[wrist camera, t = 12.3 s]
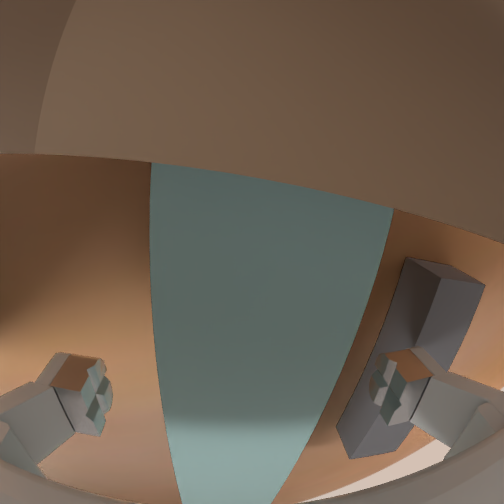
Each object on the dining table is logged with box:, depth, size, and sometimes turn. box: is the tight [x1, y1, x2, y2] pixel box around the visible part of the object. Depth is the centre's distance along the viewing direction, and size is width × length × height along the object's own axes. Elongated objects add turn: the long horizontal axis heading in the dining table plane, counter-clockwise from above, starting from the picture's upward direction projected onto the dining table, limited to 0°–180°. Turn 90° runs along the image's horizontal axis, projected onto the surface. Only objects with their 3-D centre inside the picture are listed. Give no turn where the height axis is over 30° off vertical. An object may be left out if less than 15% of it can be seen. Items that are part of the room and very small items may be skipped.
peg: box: [150, 163, 394, 504], centre depth 9 cm, size 18×4×4 cm, turn 174°
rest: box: [336, 257, 485, 459], centre depth 12 cm, size 10×3×2 cm, turn 170°
